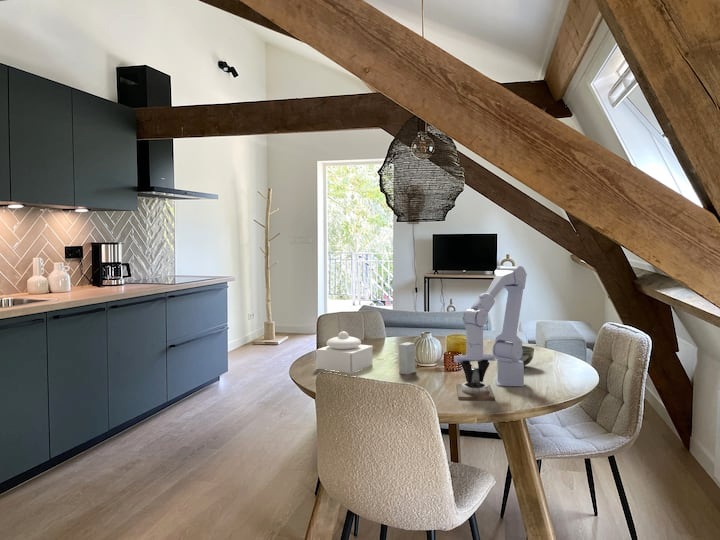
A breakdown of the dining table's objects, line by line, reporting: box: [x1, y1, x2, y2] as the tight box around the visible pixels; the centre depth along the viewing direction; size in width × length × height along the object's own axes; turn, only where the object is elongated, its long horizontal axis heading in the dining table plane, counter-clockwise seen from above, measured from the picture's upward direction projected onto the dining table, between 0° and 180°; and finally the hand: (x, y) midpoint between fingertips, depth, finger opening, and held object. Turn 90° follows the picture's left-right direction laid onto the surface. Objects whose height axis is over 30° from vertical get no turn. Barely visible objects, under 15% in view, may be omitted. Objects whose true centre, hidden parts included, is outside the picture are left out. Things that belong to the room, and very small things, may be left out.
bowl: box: [519, 345, 535, 369], centre depth 226 cm, size 14×13×8 cm
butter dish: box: [315, 330, 374, 374], centre depth 229 cm, size 18×18×16 cm
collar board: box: [455, 381, 496, 401], centre depth 188 cm, size 12×16×3 cm
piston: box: [469, 367, 480, 388], centre depth 188 cm, size 4×4×7 cm
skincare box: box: [398, 341, 416, 376], centre depth 219 cm, size 6×4×12 cm
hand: (474, 381), depth 188 cm, fingers closed on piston, 4 cm apart
